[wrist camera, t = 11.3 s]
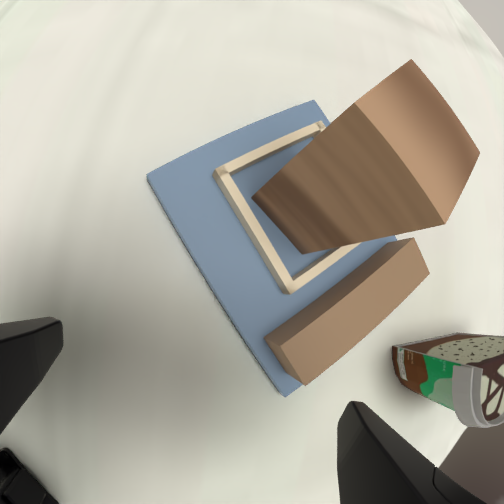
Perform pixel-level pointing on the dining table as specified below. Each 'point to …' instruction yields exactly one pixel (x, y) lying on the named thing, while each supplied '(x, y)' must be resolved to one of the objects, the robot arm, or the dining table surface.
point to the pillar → (374, 169)
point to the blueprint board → (280, 252)
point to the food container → (457, 374)
